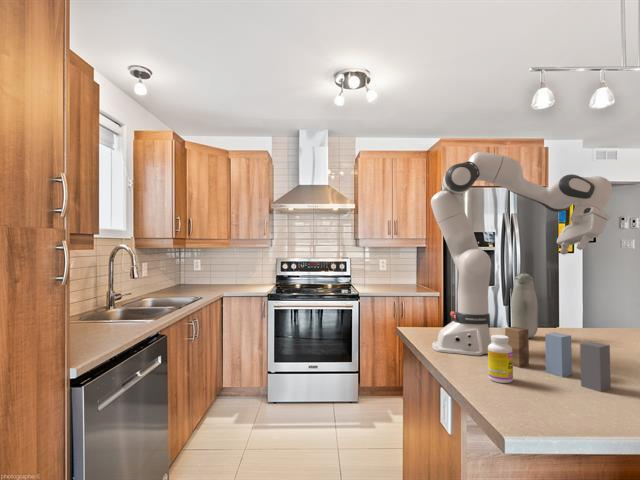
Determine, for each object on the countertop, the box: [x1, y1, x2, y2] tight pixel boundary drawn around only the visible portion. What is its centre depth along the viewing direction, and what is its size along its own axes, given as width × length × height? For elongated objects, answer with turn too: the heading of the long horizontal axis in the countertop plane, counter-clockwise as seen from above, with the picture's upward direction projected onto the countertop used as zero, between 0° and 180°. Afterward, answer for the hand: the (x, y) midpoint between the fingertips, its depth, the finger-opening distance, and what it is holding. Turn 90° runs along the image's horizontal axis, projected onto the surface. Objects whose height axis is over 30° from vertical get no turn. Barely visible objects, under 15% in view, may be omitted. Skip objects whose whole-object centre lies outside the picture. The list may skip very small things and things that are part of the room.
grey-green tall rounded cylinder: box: [510, 273, 539, 339], centre depth 167 cm, size 10×10×28 cm
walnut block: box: [504, 326, 530, 369], centre depth 128 cm, size 5×5×12 cm
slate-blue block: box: [544, 332, 573, 378], centre depth 119 cm, size 5×5×12 cm
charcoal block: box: [579, 341, 612, 393], centre depth 107 cm, size 5×5×12 cm
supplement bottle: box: [487, 334, 514, 384], centre depth 113 cm, size 7×7×13 cm
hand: (571, 251), depth 135 cm, fingers open, 8 cm apart
